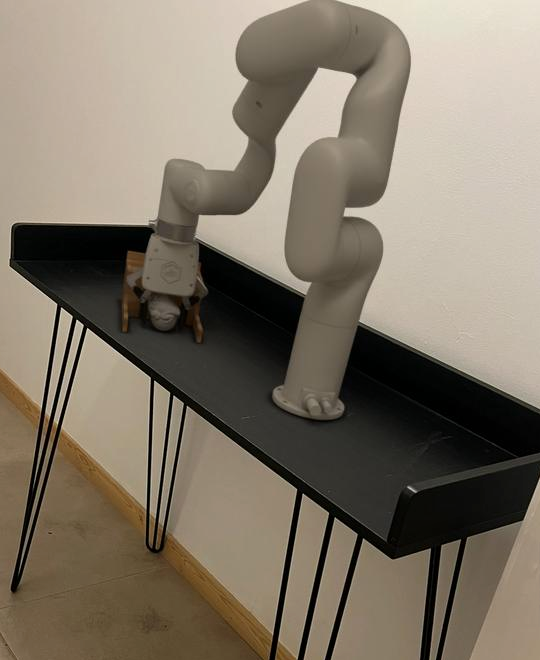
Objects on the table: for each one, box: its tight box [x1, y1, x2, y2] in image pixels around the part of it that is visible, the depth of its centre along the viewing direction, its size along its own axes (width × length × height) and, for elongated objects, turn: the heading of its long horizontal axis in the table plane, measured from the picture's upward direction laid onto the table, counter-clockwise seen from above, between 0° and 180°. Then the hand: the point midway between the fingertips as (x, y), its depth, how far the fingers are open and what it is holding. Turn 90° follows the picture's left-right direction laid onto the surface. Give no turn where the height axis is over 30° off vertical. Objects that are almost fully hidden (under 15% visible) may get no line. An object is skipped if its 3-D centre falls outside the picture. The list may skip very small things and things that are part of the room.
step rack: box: [120, 250, 205, 344], centre depth 168 cm, size 20×15×10 cm
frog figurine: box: [148, 293, 180, 332], centre depth 164 cm, size 6×7×7 cm
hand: (161, 323), depth 165 cm, fingers closed on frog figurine, 6 cm apart
